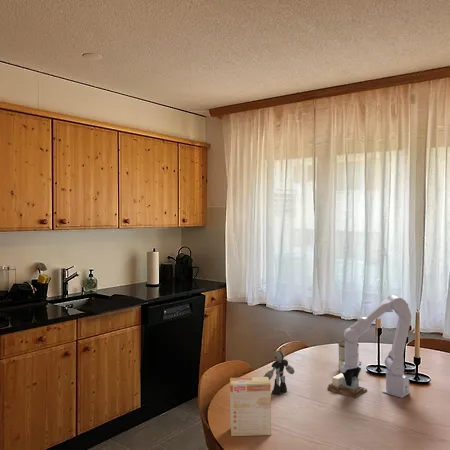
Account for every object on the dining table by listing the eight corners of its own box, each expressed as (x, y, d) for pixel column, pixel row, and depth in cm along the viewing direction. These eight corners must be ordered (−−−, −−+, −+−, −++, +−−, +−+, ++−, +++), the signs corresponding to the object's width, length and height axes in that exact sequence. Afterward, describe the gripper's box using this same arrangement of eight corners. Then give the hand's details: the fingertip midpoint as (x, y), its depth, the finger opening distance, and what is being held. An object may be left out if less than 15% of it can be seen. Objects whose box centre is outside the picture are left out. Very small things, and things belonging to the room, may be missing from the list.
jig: (367, 391, 206) (367, 386, 206) (354, 398, 198) (354, 393, 198) (340, 383, 216) (340, 378, 216) (327, 389, 209) (327, 384, 209)
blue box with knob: (358, 390, 205) (358, 376, 205) (354, 392, 202) (354, 378, 202) (347, 386, 209) (347, 373, 209) (342, 388, 207) (342, 375, 207)
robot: (267, 399, 198) (267, 354, 198) (260, 396, 202) (259, 352, 201) (298, 388, 210) (297, 346, 210) (290, 385, 214) (290, 344, 214)
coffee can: (337, 366, 241) (336, 340, 240) (356, 367, 240) (356, 340, 239) (340, 373, 230) (340, 346, 230) (360, 373, 229) (360, 346, 229)
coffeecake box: (269, 426, 172) (268, 376, 172) (271, 435, 165) (271, 383, 165) (230, 427, 172) (229, 377, 171) (231, 436, 164) (230, 384, 164)
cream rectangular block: (347, 384, 212) (347, 374, 212) (338, 388, 207) (338, 379, 207) (341, 382, 215) (341, 372, 214) (332, 387, 209) (332, 377, 209)
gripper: (351, 349, 213) (352, 378, 213) (334, 356, 203) (334, 386, 204) (365, 352, 208) (365, 381, 208) (348, 359, 198) (348, 390, 198)
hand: (351, 384), depth 206 cm, fingers closed on blue box with knob, 4 cm apart
